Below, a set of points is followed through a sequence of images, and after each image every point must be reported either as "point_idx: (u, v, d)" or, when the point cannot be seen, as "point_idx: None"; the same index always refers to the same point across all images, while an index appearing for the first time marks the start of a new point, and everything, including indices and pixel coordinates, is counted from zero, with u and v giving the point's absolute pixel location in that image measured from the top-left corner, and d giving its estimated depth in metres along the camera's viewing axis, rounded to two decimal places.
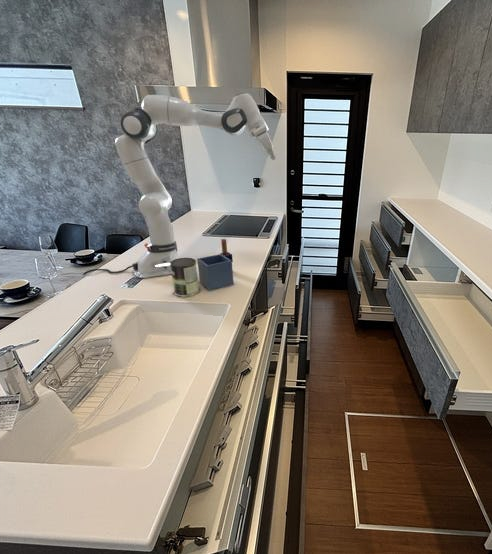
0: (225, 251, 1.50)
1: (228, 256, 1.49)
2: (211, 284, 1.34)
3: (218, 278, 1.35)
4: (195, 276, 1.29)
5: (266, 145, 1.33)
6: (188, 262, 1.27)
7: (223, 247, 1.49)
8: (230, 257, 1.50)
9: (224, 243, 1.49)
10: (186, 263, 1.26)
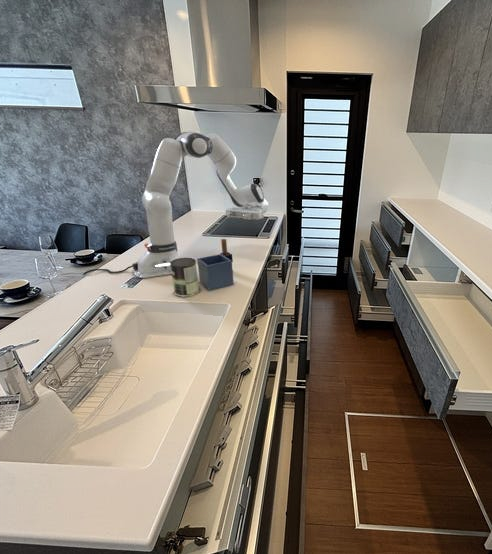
0: (225, 251, 1.50)
1: (228, 256, 1.49)
2: (211, 284, 1.34)
3: (218, 278, 1.35)
4: (195, 276, 1.29)
5: (259, 214, 1.58)
6: (188, 262, 1.27)
7: (223, 247, 1.49)
8: (230, 257, 1.50)
9: (224, 243, 1.49)
10: (186, 263, 1.26)
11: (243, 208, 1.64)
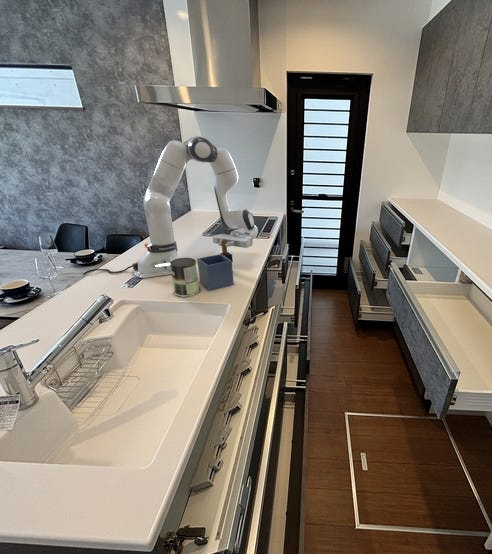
0: (225, 251, 1.50)
1: (228, 256, 1.49)
2: (211, 284, 1.34)
3: (218, 278, 1.35)
4: (195, 276, 1.29)
5: (248, 242, 1.52)
6: (188, 262, 1.27)
7: (223, 247, 1.49)
8: (230, 257, 1.50)
9: (224, 243, 1.49)
10: (186, 263, 1.26)
11: (231, 235, 1.58)
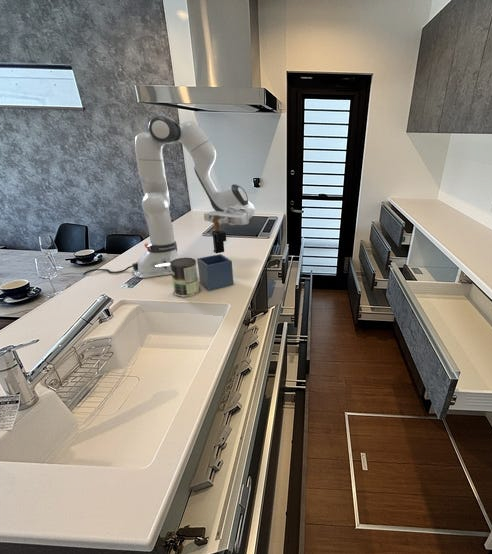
0: (218, 228, 1.34)
1: (221, 234, 1.32)
2: (211, 284, 1.34)
3: (218, 278, 1.35)
4: (195, 276, 1.29)
5: (243, 219, 1.35)
6: (188, 262, 1.27)
7: (215, 224, 1.33)
8: (223, 235, 1.33)
9: (216, 219, 1.32)
10: (186, 263, 1.26)
11: (224, 212, 1.42)
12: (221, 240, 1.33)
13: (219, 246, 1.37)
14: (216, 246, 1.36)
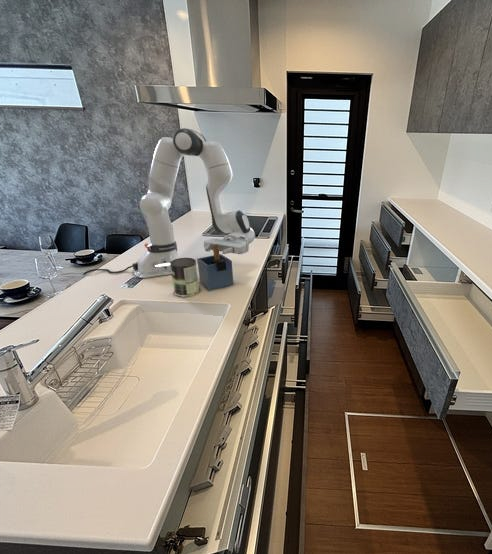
0: (217, 257, 1.33)
1: (221, 263, 1.32)
2: (211, 284, 1.34)
3: (218, 278, 1.35)
4: (195, 276, 1.29)
5: (243, 248, 1.35)
6: (188, 262, 1.27)
7: (215, 253, 1.33)
8: (223, 264, 1.33)
9: (216, 248, 1.32)
10: (186, 263, 1.26)
11: (224, 240, 1.41)
12: (221, 269, 1.33)
13: None
14: None
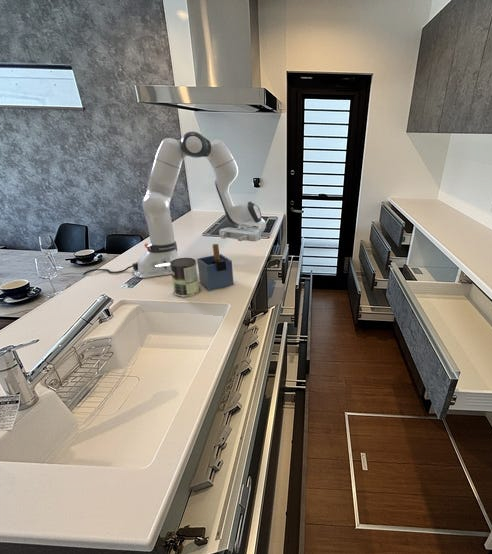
0: (217, 257, 1.33)
1: (221, 263, 1.32)
2: (211, 284, 1.34)
3: (218, 278, 1.35)
4: (195, 276, 1.29)
5: (256, 235, 1.45)
6: (188, 262, 1.27)
7: (215, 253, 1.33)
8: (223, 264, 1.33)
9: (216, 248, 1.32)
10: (186, 263, 1.26)
11: (238, 228, 1.51)
12: (221, 269, 1.33)
13: None
14: None
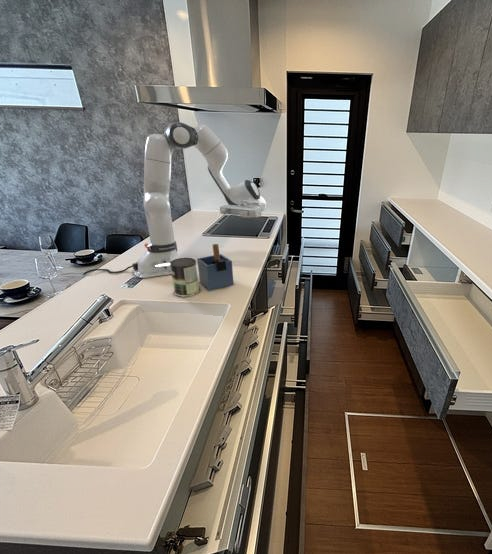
0: (217, 257, 1.33)
1: (221, 263, 1.32)
2: (211, 284, 1.34)
3: (218, 278, 1.35)
4: (195, 276, 1.29)
5: (256, 211, 1.46)
6: (188, 262, 1.27)
7: (215, 253, 1.33)
8: (223, 264, 1.33)
9: (216, 248, 1.32)
10: (186, 263, 1.26)
11: (239, 205, 1.52)
12: (221, 269, 1.33)
13: None
14: None
